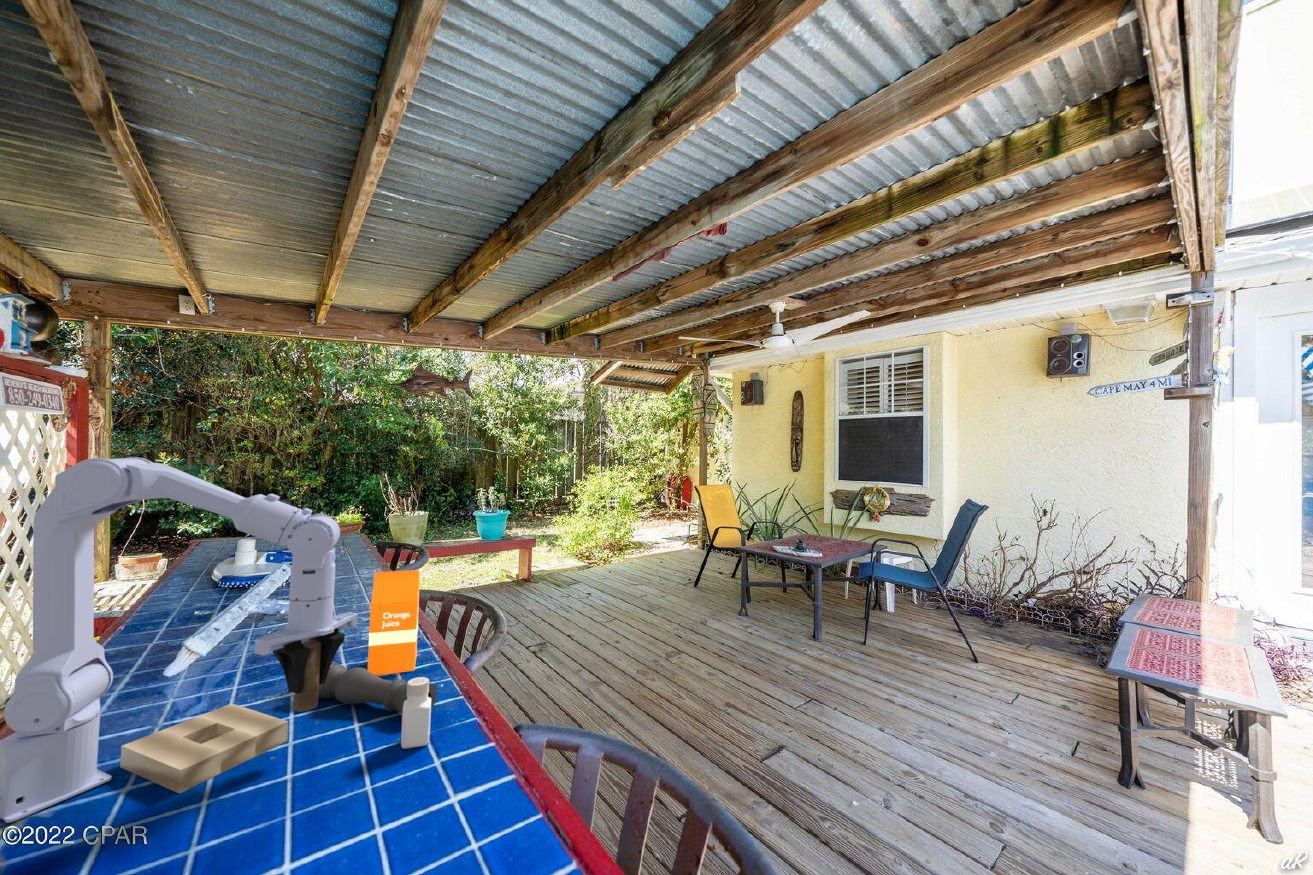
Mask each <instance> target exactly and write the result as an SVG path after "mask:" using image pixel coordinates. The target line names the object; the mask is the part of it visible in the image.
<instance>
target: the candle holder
mask: <svg viewBox="0 0 1313 875" xmlns="http://www.w3.org/2000/svg"><path fill="white" fill-rule="evenodd" d="M407 682H408V681H406V680H405V679H404V678H397V679H395V680H393V681H392V680H388V679H383V678H381V677H379V675H378V676H377V675H374V674H373V673H371V672H369V671H368V669H366V668H364V667H353V668H349V669H347V668H346V667H345V666H344V665H342V664H339V663H338V662H336V661H332V663H331V666H330V669H329V672H328V675H327V678H326V681H325V683H323V684H319V696H318V699H331V698H334V697H336V698H337V700H338V701H339V702H340V703H342V704H343V705H359V704H369V703H370V704H371V703H372V704H378V705H382V706H383V708H384V709H385V710H386V711H388V712H394V711H397V712H398V713H399V714H400V715H401V716H402V710H403V704H404V701H406V700H407ZM437 692H438V691H437V687H436V685H435V684H434V683H431V682H429V692H428V697H430V698H431V711H432V710H433V708H434V706H435V705H436V701H437V697H438V696H437V695H438V694H437Z"/></svg>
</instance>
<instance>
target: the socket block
mask: <svg viewBox="0 0 1313 875" xmlns="http://www.w3.org/2000/svg"><path fill="white" fill-rule="evenodd" d="M288 736H289V721H288V720H284V719H281V718H279V717H275V716H272V715H269V714H266V713H263V712H261V711H257V710H254V709H250V708H248V707H244V706H241V705H238V704H236V703H235V704H234V703H232V702H231V703H228V704H227V705H223V706H222V707H219V708H216V709H214V710H211V711H209V712H206V713H204V714H201V715H198V716H195V717H193V718H190V719H188V720H185V721H183V722H180V723H177V724H174V725H172V726H169V727H166V728H164V729H162V730H159V731H156V732H154V733H151V734H148V735H145V736H143V737H141V738H138V739H136V740H133V741H131V742H128V743H125V744H123V745H121V748H120V749H121V750H120V765H119V766H120V768H121V769H123V770H125V771H128V772H130V773H132V774H135V775H137V776H138V777H141V778H143V779H146V780H148V781H150V782H153V783H154V784H157V785H159V786H161V787H164V788H166V789H168V790H171V791H172V792H174V793H177V794H181V793H184V792H186V791H189V790H190V789H191V788H194V787H196V786H198V785H200V784H203V783H205V782H206V781H209V780H211V779H212V778H214V777H217V776H218V775H220V774H222V773H225V772H227V771H229V770H231V769H232V768H235V767H237V766H239V765H241V764H243V763H245V762H247V761H250V760H251V759H254V758H256V757H258V756H259V755H261V754H264V753H265V752H267V751H269V750H272V749H274V748H276V747H279V746H280V745H282V744H285V743H286V742H288V738H289V737H288Z"/></svg>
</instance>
